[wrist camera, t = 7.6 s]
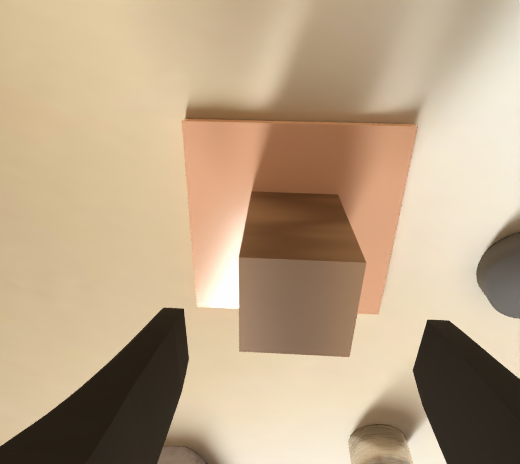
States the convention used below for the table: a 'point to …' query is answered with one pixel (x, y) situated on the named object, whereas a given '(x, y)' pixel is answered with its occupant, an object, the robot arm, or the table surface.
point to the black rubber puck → (502, 275)
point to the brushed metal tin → (379, 446)
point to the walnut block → (298, 275)
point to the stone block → (179, 456)
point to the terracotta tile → (291, 189)
